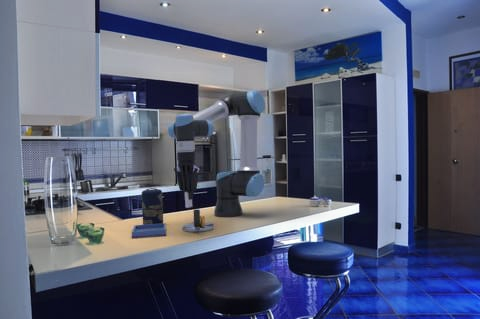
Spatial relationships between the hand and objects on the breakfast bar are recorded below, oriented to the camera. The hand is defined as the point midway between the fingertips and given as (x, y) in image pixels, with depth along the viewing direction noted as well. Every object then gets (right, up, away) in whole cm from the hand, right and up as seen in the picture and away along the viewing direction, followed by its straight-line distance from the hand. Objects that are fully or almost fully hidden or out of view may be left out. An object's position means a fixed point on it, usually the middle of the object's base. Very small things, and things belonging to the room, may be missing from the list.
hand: (188, 207), depth 157 cm
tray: (-17, -12, +2) cm, 21 cm away
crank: (+3, -9, +4) cm, 11 cm away
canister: (-19, -11, +18) cm, 29 cm away
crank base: (+3, -11, +8) cm, 14 cm away
